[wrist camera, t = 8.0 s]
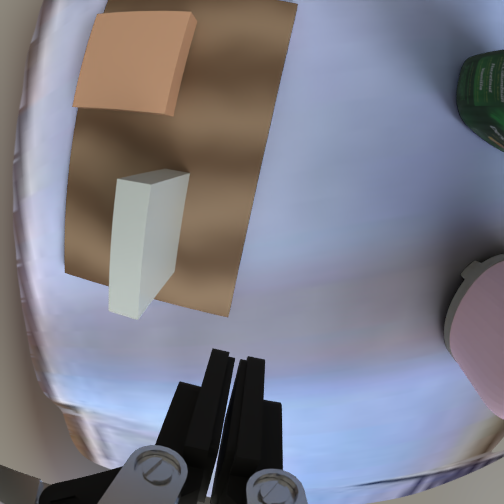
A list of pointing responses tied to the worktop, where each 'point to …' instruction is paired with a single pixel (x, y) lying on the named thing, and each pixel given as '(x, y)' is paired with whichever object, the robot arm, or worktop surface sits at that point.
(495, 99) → the coffee jar
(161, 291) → the walnut board
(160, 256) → the grey-blue tile
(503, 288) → the blender
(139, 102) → the terracotta tile
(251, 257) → the worktop surface
